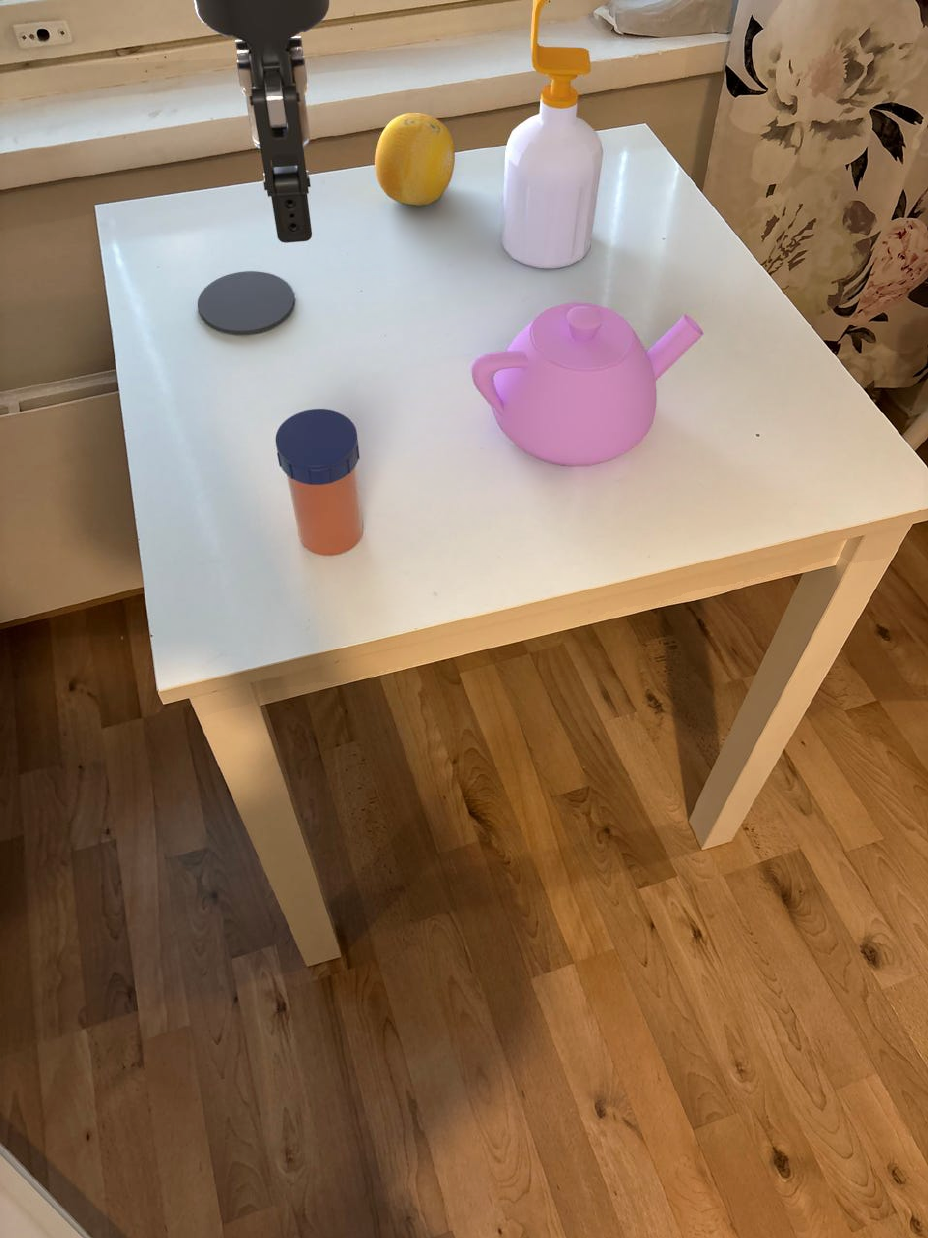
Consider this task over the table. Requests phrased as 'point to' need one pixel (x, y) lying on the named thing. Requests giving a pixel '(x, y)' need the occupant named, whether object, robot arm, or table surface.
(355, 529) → the jar
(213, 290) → the coaster
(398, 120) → the fruit
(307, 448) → the lid
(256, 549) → the table surface
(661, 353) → the teapot
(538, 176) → the soap bottle
